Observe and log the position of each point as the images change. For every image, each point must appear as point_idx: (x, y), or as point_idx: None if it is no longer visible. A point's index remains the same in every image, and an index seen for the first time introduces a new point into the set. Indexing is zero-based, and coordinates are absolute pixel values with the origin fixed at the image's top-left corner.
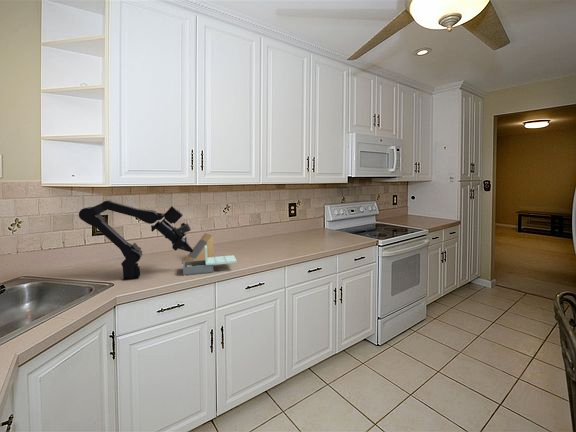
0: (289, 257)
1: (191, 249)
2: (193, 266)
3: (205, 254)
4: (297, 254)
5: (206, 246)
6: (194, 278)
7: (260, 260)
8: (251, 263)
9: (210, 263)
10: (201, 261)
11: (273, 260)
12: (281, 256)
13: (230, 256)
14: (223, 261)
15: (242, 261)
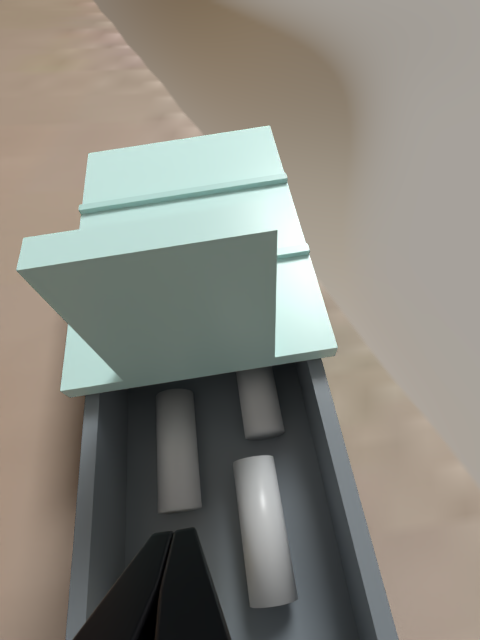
0: (93, 25)
1: (210, 579)
2: (356, 515)
3: (274, 300)
4: (59, 7)
5: (112, 228)
6: (468, 491)
7: (89, 106)
8: (132, 138)
9: (322, 302)
10: (101, 442)
11: (116, 65)
12: (59, 44)
13: (116, 170)
14: (273, 201)
15: (64, 179)
